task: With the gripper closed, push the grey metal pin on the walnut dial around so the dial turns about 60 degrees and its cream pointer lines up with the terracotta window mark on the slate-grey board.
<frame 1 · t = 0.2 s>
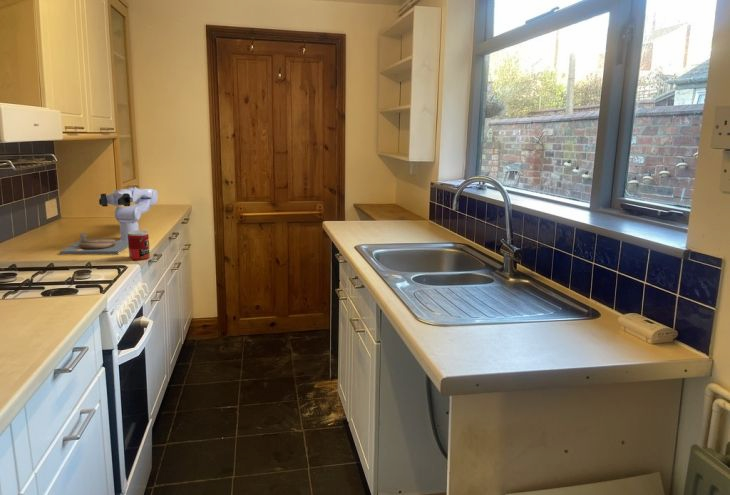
hand: (109, 202, 233), 21 cm above the counter, tool horizontal, fingers open, 7 cm apart
board: (97, 249, 240), on the counter
dial: (97, 239, 239), point 4 cm above the counter, hinge at 0.0°
canned food: (139, 258, 227), on the counter
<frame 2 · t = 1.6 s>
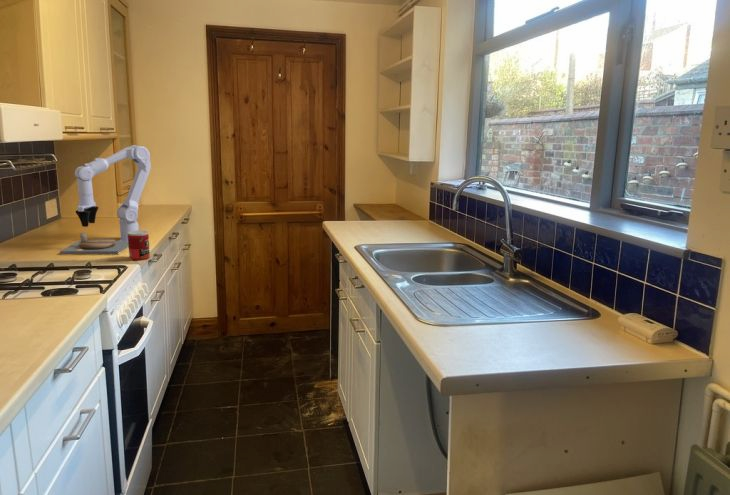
hand: (88, 224, 243), 9 cm above the counter, tool pointing down, fingers open, 7 cm apart
nothing on the counter moved.
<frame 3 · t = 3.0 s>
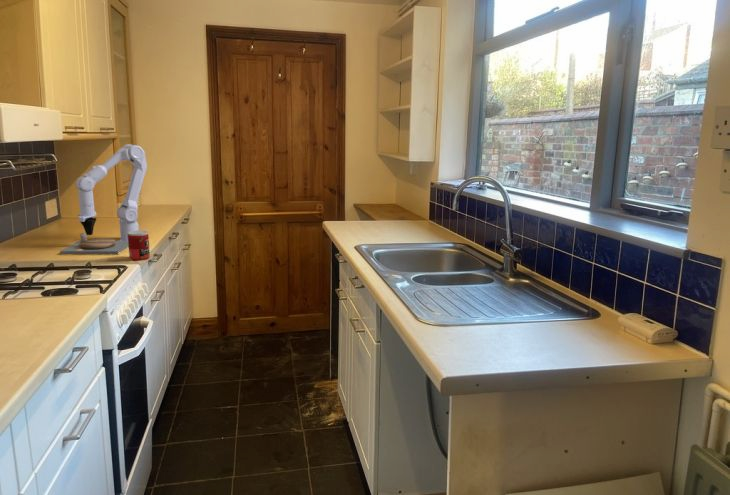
hand: (89, 234, 244), 5 cm above the counter, tool pointing down, fingers closed
nothing on the counter moved.
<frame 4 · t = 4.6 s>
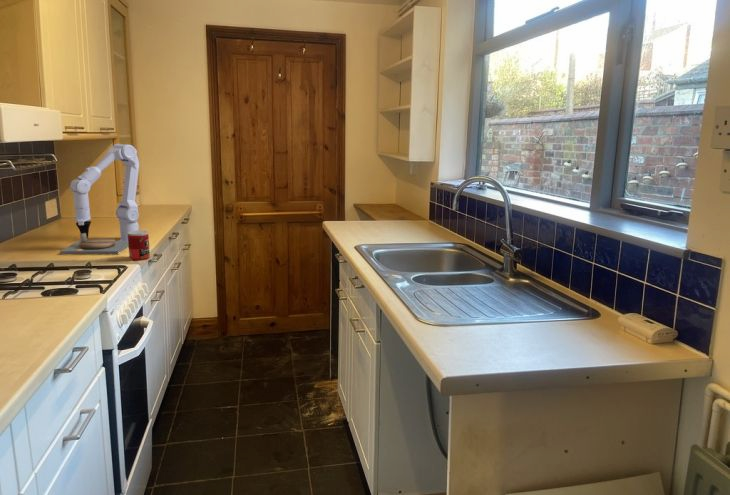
hand: (85, 238, 240), 4 cm above the counter, tool pointing down, fingers closed
dial: (97, 239, 239), point 4 cm above the counter, hinge at 2.1°, touching gripper
everything else where it was.
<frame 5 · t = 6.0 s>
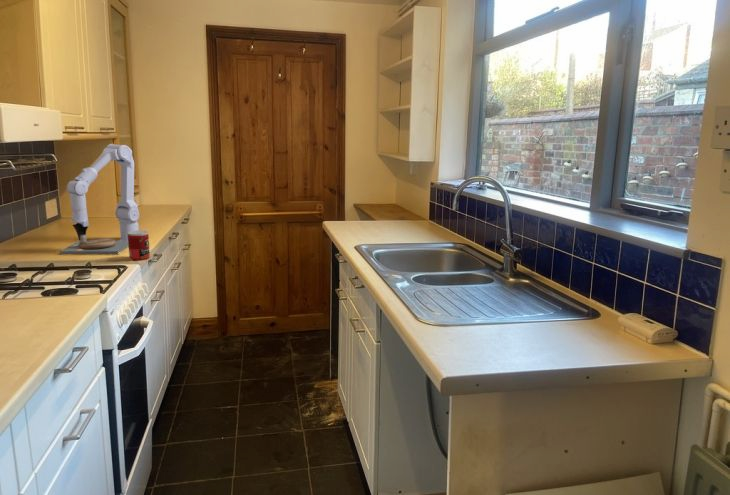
hand: (82, 240, 236), 4 cm above the counter, tool pointing down, fingers closed
dial: (97, 239, 239), point 4 cm above the counter, hinge at 39.1°, touching gripper
everything else where it was.
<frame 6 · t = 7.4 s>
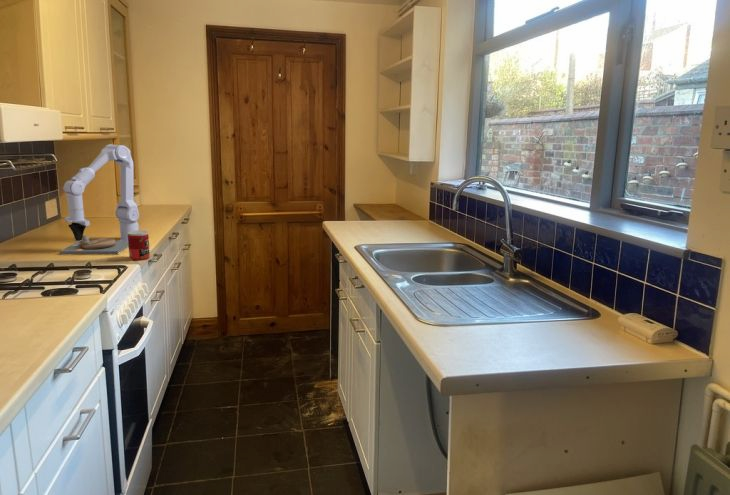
hand: (79, 240, 236), 4 cm above the counter, tool pointing down, fingers closed
dial: (97, 239, 239), point 4 cm above the counter, hinge at 60.1°
everything else where it was.
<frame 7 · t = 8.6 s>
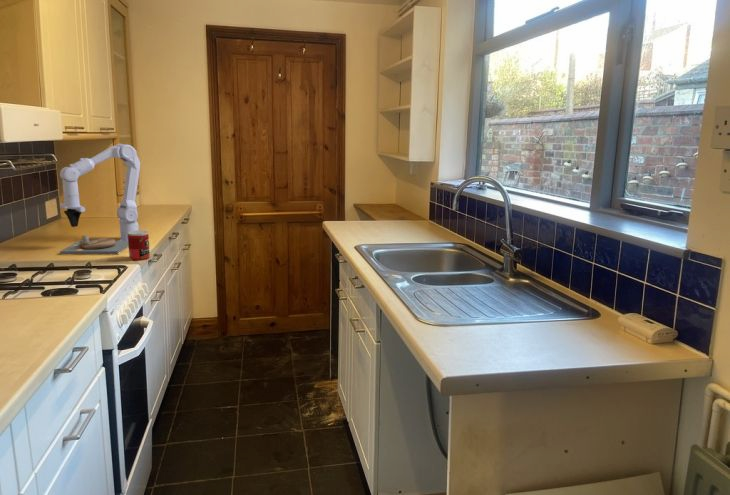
hand: (74, 226, 239), 9 cm above the counter, tool pointing down, fingers closed
nothing on the counter moved.
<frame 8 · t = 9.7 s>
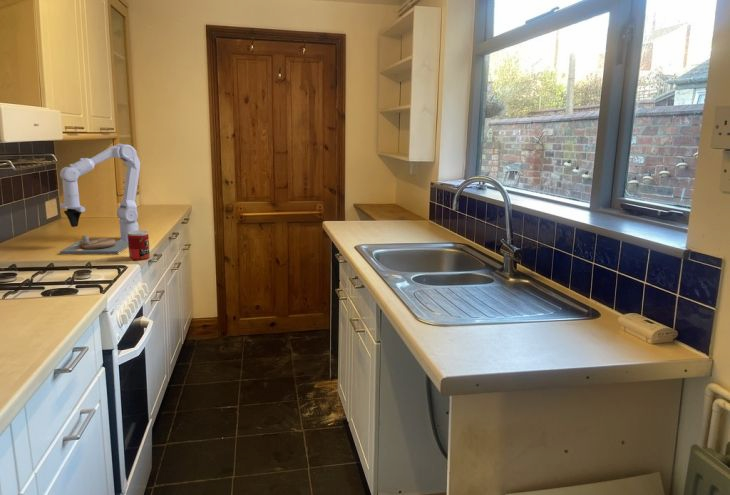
hand: (74, 226, 239), 9 cm above the counter, tool pointing down, fingers closed
nothing on the counter moved.
at the end: dial at +60° (first picture: +0°); canned food moved 0.2 cm from its start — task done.
